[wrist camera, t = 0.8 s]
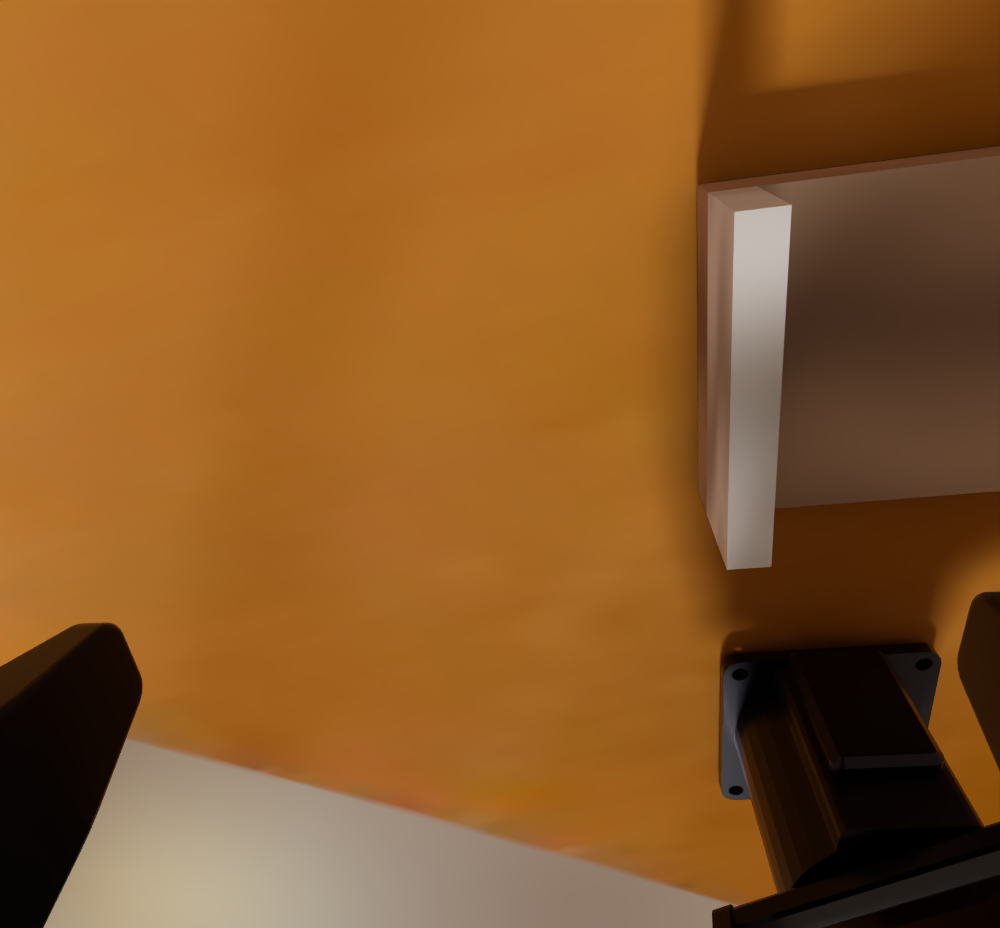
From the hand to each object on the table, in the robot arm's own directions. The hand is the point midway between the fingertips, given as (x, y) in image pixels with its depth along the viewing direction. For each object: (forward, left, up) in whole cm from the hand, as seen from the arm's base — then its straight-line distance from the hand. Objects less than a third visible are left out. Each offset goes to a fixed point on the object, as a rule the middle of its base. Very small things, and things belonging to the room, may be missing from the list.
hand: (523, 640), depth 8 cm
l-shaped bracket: (-1, -9, -12) cm, 15 cm away
